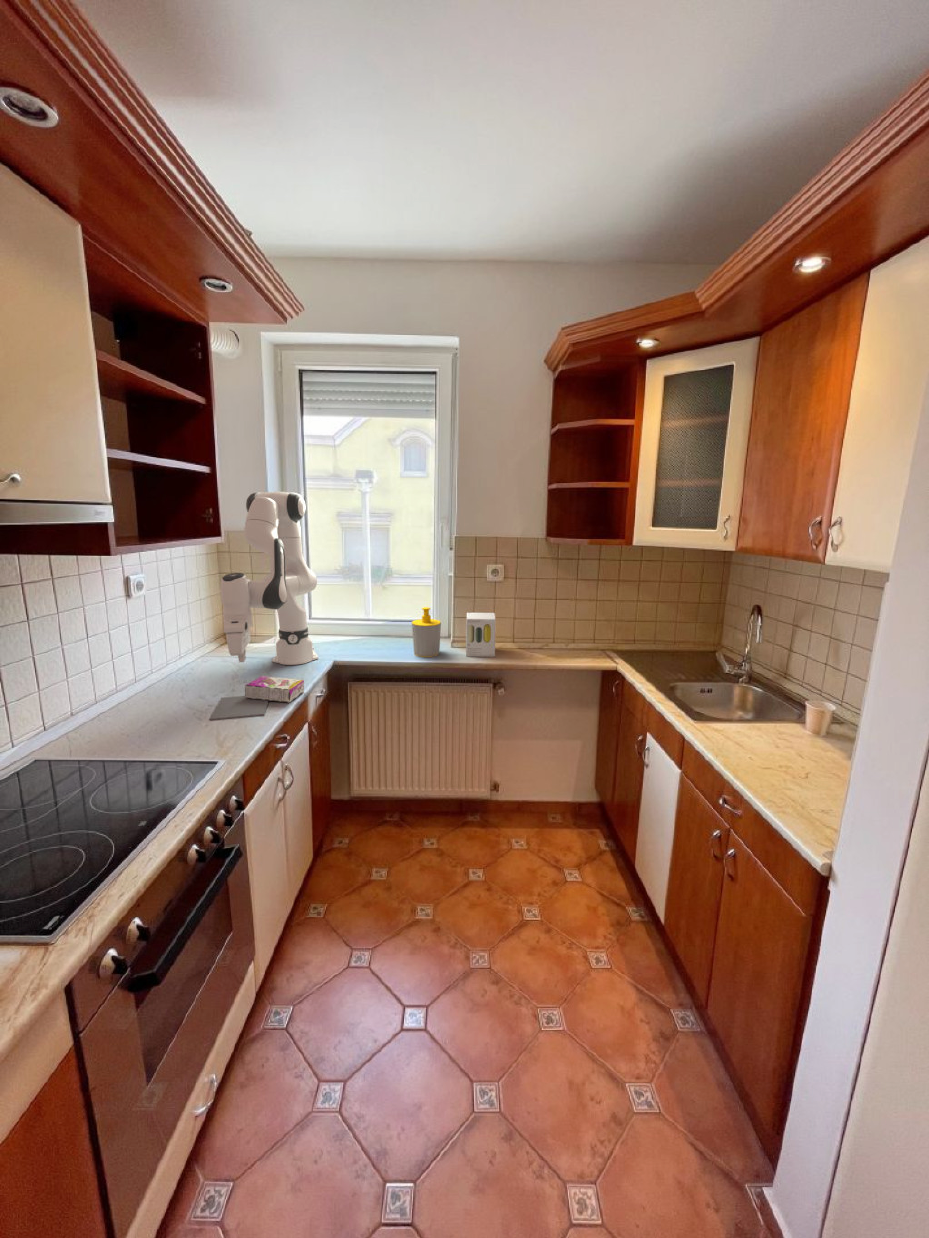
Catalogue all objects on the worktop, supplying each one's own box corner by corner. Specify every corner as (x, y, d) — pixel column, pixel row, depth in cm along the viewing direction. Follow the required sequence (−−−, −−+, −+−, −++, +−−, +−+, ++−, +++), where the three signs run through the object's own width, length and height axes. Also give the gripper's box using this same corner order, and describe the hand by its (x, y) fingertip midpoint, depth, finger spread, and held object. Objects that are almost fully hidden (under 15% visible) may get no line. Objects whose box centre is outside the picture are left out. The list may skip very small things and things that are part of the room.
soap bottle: (441, 649, 235) (441, 604, 230) (440, 657, 222) (440, 610, 217) (413, 649, 235) (412, 605, 230) (411, 657, 222) (410, 610, 217)
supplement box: (465, 656, 224) (465, 618, 220) (466, 648, 237) (466, 612, 233) (495, 657, 224) (496, 618, 220) (494, 648, 237) (495, 612, 233)
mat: (221, 699, 174) (221, 697, 174) (270, 694, 178) (270, 693, 178) (209, 720, 157) (209, 718, 157) (264, 715, 161) (264, 713, 161)
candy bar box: (261, 674, 182) (304, 679, 180) (261, 687, 183) (304, 692, 181) (244, 684, 171) (289, 689, 169) (244, 698, 172) (289, 703, 170)
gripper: (233, 616, 178) (237, 653, 181) (222, 629, 159) (226, 670, 162) (252, 615, 180) (256, 652, 183) (243, 627, 160) (247, 669, 163)
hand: (242, 661), depth 172 cm, fingers closed
